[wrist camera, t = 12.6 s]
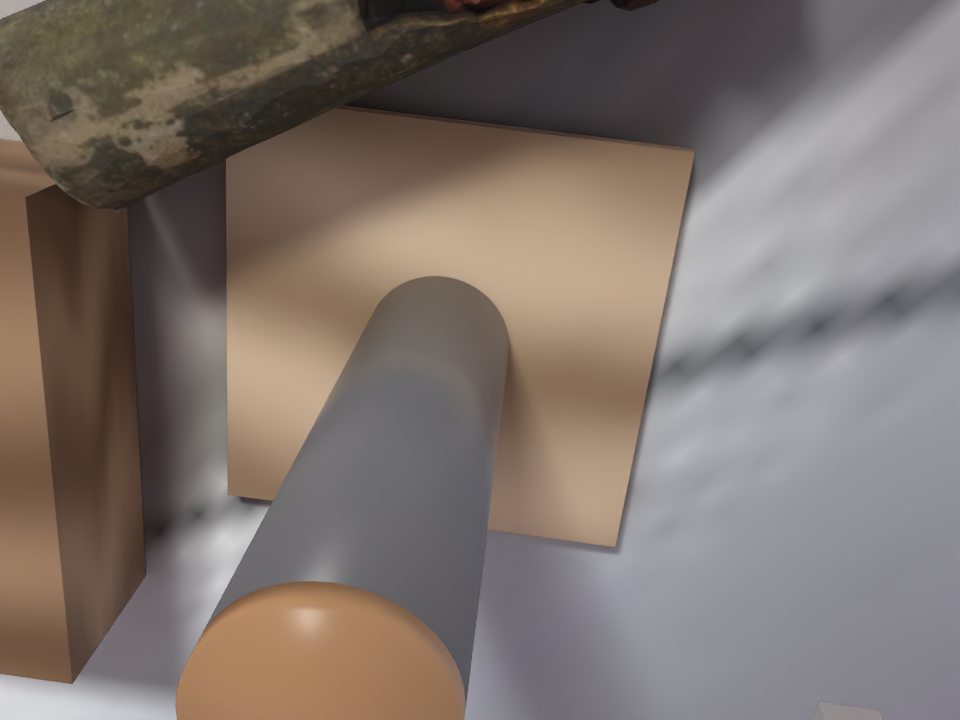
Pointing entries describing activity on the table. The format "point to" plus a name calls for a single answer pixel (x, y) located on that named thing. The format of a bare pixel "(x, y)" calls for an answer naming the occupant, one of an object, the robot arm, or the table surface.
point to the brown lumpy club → (212, 75)
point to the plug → (371, 532)
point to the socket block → (64, 424)
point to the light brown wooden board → (464, 256)
